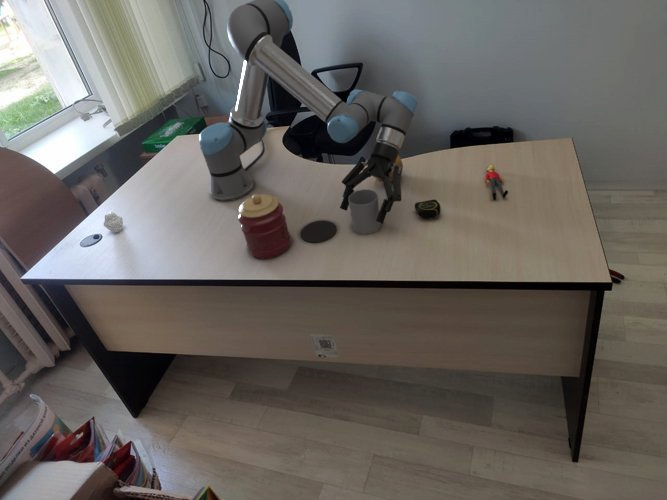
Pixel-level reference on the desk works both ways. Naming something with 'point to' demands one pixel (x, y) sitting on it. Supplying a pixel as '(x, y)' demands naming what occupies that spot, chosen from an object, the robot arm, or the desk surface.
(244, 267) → the desk surface
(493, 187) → the person figure
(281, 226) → the kitchen canister
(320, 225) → the coaster
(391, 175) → the potato
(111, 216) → the beige knobbly lump
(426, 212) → the tape measure
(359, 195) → the cup
